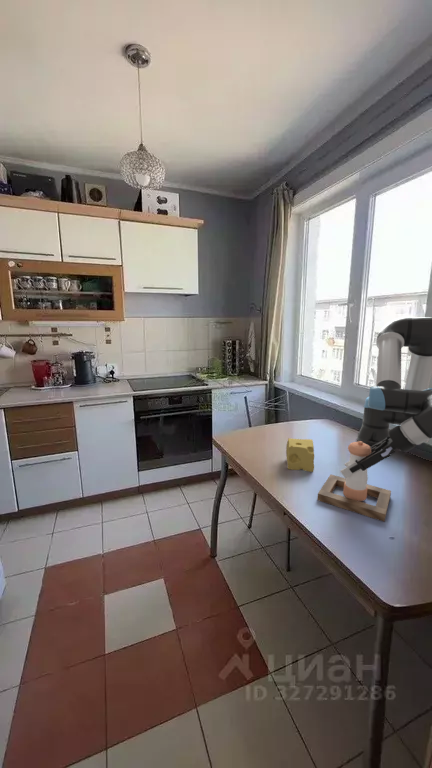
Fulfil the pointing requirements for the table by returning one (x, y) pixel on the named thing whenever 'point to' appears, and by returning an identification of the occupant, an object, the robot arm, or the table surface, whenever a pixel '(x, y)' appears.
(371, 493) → the rail frame
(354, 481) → the salt shaker
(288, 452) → the cheese
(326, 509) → the table surface
